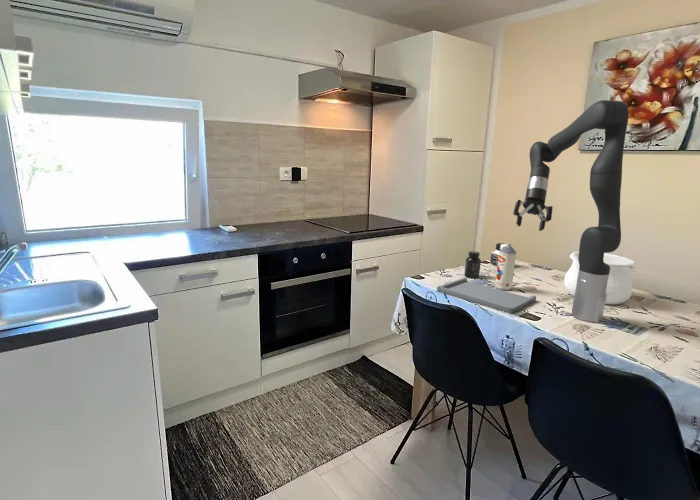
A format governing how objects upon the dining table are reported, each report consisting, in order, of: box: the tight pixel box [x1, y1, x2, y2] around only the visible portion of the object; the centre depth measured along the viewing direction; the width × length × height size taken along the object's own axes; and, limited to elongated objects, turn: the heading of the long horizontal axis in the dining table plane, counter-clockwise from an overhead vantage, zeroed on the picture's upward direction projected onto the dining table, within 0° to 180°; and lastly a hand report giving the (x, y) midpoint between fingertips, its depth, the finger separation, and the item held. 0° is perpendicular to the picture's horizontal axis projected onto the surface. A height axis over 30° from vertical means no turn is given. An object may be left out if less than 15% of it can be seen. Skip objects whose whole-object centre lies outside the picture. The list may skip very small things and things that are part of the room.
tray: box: [436, 276, 537, 315], centre depth 164 cm, size 32×22×2 cm
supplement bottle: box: [464, 250, 482, 279], centre depth 190 cm, size 7×7×12 cm
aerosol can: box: [494, 242, 517, 292], centre depth 173 cm, size 7×7×20 cm
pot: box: [563, 251, 637, 305], centre depth 168 cm, size 26×24×17 cm
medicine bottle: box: [489, 242, 507, 268], centre depth 212 cm, size 7×7×12 cm
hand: (529, 228), depth 161 cm, fingers open, 8 cm apart
